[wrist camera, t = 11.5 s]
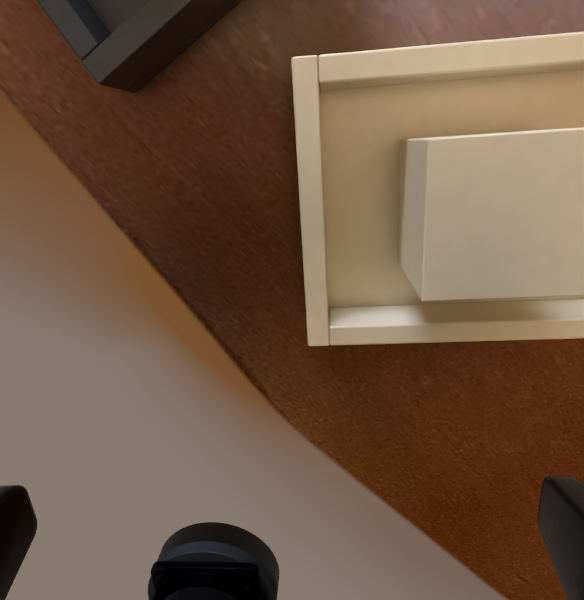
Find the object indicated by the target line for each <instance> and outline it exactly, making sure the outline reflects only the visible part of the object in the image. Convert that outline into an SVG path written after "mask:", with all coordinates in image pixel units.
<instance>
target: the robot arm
mask: <svg viewBox="0 0 584 600" xmlns="http://www.w3.org/2000/svg"><path fill="white" fill-rule="evenodd" d="M538 522H539V527H540V531H541V533H542V536H543V539H544V541H545V544H546V546H547V549H548V551H549V554H550V556H551V559H552V561H553V564H554V567H555V569H556V572H557V574H558V577H559V579H560V582H561V584H562V587H563V590H564V592H565V595H566V597H567V600H584V483H583V482H581V481H580V480H578V479H576V478H574V477H572V476H548V477H546V478H545V479H544V480H543V483H542V488H541V496H540V504H539V512H538ZM36 530H37V519H36V516H35V513H34V510H33V507H32V504H31V501H30V498H29V495H28V492H27V490H26V489H25V488H24V487H22V486H19V485H15V486H0V600H5V598H6V596H7V594H8V592H9V589H10V587H11V585H12V583H13V581H14V579H15V577H16V575H17V572H18V570H19V568H20V566H21V564H22V562H23V560H24V558H25V555H26V553H27V551H28V549H29V547H30V545H31V542H32V541H33V538H34V536H35V533H36ZM151 577H152V581H153V585H154V589H155V594H154V596H153V599H152V600H268V598H267V597H266V595H265V594H262V589H261V581H260V573H259V568H258V566H257V565H256V564H254V563H246V562H183V561H157V562H155V563H154V564H153V566H152V569H151Z"/></svg>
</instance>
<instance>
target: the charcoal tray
mask: <svg viewBox="0 0 584 600" xmlns="http://www.w3.org/2000/svg"><path fill="white" fill-rule="evenodd" d="M36 1H37V2H38V3H39V5H40V6H41V7H42V9H43V10H44V11H45V13H46V14H47V15H48V17H49V18H50V19H51V21H52V22H53V23H54V25H55V26H56V27H57V29H58V30H59V31H60V33H61V34H62V35H63V37H64V38H65V39H66V41H67V42H68V43H69V45H70V46H71V47H72V49H73V50H74V51H75V53H76V54H77V55H78V57H79V58H80V59H81V60H82V63H83V64H84V66H85V67H86V68H87V70H88V71H89V72H90V74H91V75H92V76H93V78H94V79H95V80H96V82H97V83H98V84H100V85H104V86H108V87H112V88H116V89H120V90H124V91H129V92H133V93H135V92H136V91H138V90H139V89H140V88H141V87H142V86H143V85H145V84H146V83H147V82H148V81H149V80H150V79H151V78H153V77H154V76H155V75H156V74H157V73H158V72H160V71H161V70H162V69H163V68H164V67H165V66H166V65H168V64H169V63H170V62H171V61H172V60H173V59H174V58H176V57H177V56H178V55H179V54H180V53H181V52H183V51H184V50H185V49H186V48H187V47H188V46H189V45H191V44H192V43H193V42H194V41H195V40H196V39H197V38H199V37H200V36H201V35H202V34H203V33H204V32H206V31H207V30H208V29H209V28H210V27H211V26H212V25H214V24H215V23H216V22H217V21H218V20H219V19H221V18H222V17H223V16H224V15H225V14H226V13H227V12H229V11H230V10H231V9H232V8H233V7H234V6H235V5H237V4H238V3H239V2H240V1H241V0H36Z"/></svg>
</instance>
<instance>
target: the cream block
mask: <svg viewBox="0 0 584 600" xmlns="http://www.w3.org/2000/svg"><path fill="white" fill-rule="evenodd" d="M398 262H399V264H400V266H401V267H402V269H403V271H404V272H405V274H406V276H407V277H408V279H409V281H410V282H411V284H412V286H413V287H414V289H415V291H416V292H417V294H418V296H419V297H420V299H421V301H423V302H429V301H456V300H483V299H510V298H538V297H565V296H583V294H584V127H582V128H563V129H544V130H526V131H512V132H498V133H483V134H469V135H454V136H440V137H425V138H411V139H401V140H400V167H399V230H398Z"/></svg>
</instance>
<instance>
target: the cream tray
mask: <svg viewBox="0 0 584 600" xmlns="http://www.w3.org/2000/svg"><path fill="white" fill-rule="evenodd" d="M291 65H292V82H293V99H294V116H295V133H296V150H297V167H298V184H299V201H300V218H301V234H302V251H303V268H304V285H305V302H306V319H307V336H308V346H329V343H330V345H364V344H399V343H434V342H469V341H504V340H539V339H574V338H584V294H583V296H565V297H538V298H510V299H483V300H456V301H429V302H423V301H421V299H420V297H419V296H418V294H417V292H416V291H415V289H414V287H413V286H412V284H411V282H410V281H409V279H408V277H407V276H406V274H405V272H404V271H403V269H402V267H401V266H400V264H399V262H398V230H399V167H400V140H401V139H411V138H425V137H440V136H454V135H469V134H483V133H498V132H512V131H526V130H544V129H563V128H582V127H584V32H574V33H562V34H551V35H539V36H528V37H517V38H505V39H494V40H482V41H471V42H460V43H448V44H437V45H425V46H414V47H402V48H391V49H380V50H368V51H357V52H345V53H334V54H322V55H319V56H318V57H317V55H309V56H298V57H292V59H291Z"/></svg>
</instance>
